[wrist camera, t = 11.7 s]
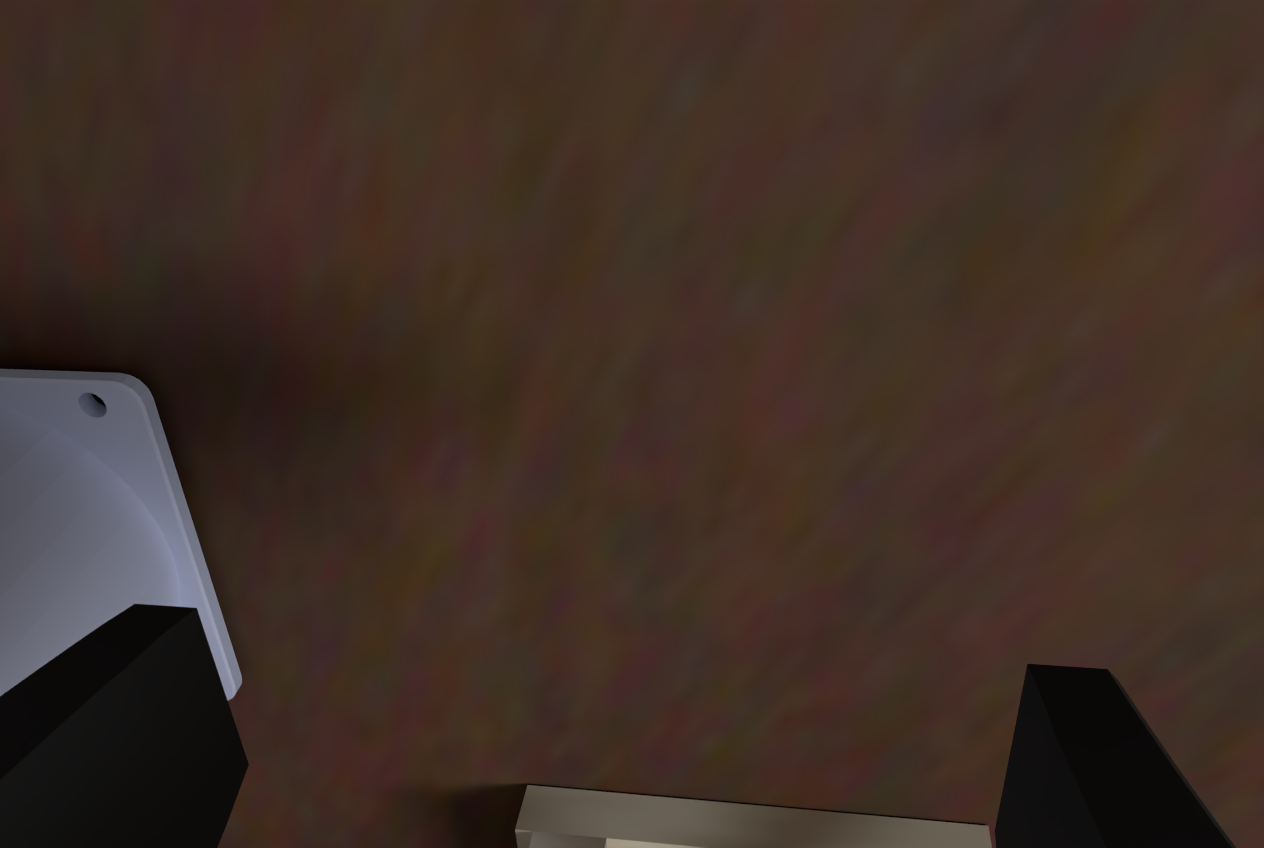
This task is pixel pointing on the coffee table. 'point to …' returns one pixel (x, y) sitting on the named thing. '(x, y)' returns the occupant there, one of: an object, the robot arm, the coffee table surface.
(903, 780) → the coffee table surface
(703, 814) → the cradle
